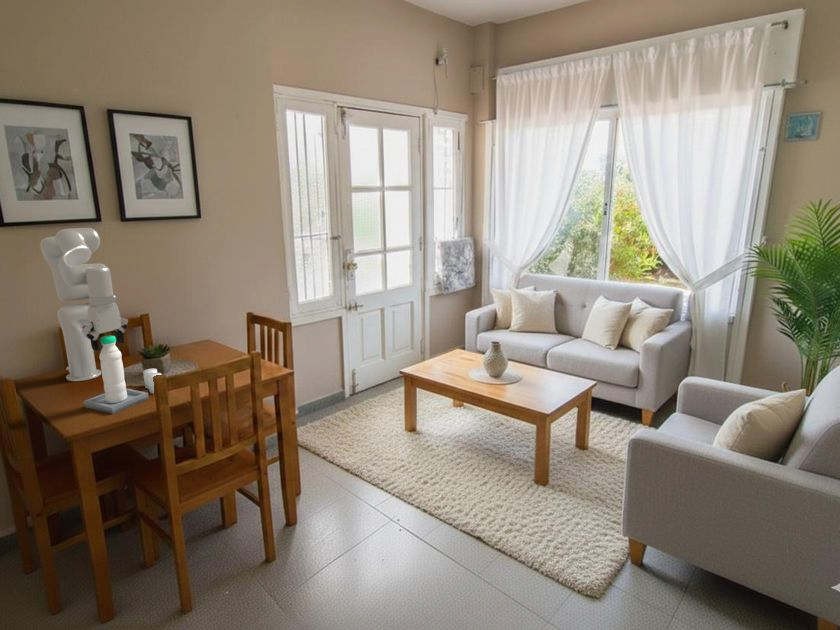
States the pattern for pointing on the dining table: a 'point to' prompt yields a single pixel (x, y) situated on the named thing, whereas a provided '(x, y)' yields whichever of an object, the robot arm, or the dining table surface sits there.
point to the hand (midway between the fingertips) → (108, 346)
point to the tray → (112, 408)
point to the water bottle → (112, 371)
